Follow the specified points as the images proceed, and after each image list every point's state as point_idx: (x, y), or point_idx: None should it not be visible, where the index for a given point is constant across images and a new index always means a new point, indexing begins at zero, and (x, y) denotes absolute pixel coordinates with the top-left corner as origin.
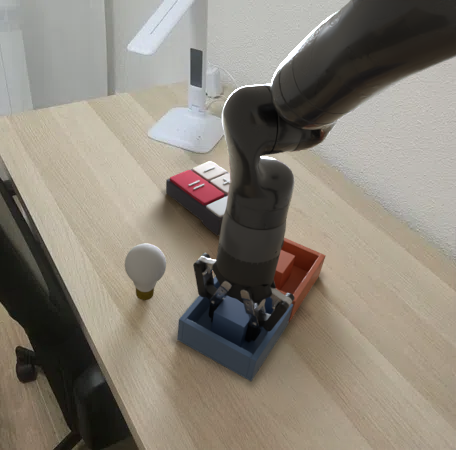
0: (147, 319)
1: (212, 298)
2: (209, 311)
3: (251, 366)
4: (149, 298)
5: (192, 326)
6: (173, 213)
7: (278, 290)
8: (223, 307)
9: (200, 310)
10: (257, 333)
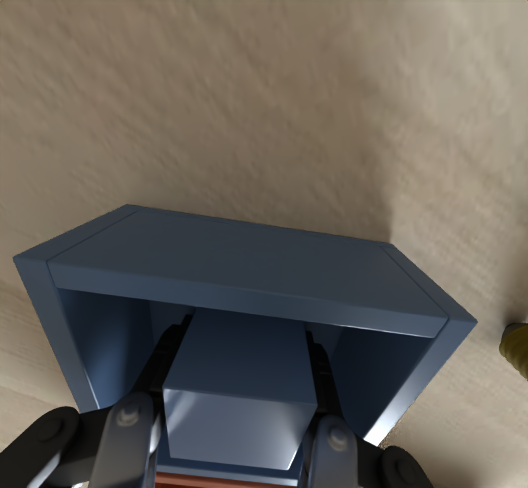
0: (500, 271)
1: (350, 476)
2: (329, 367)
3: (78, 234)
4: (514, 334)
5: (397, 311)
6: (451, 482)
7: (164, 481)
8: (286, 427)
9: (356, 358)
10: (150, 357)
